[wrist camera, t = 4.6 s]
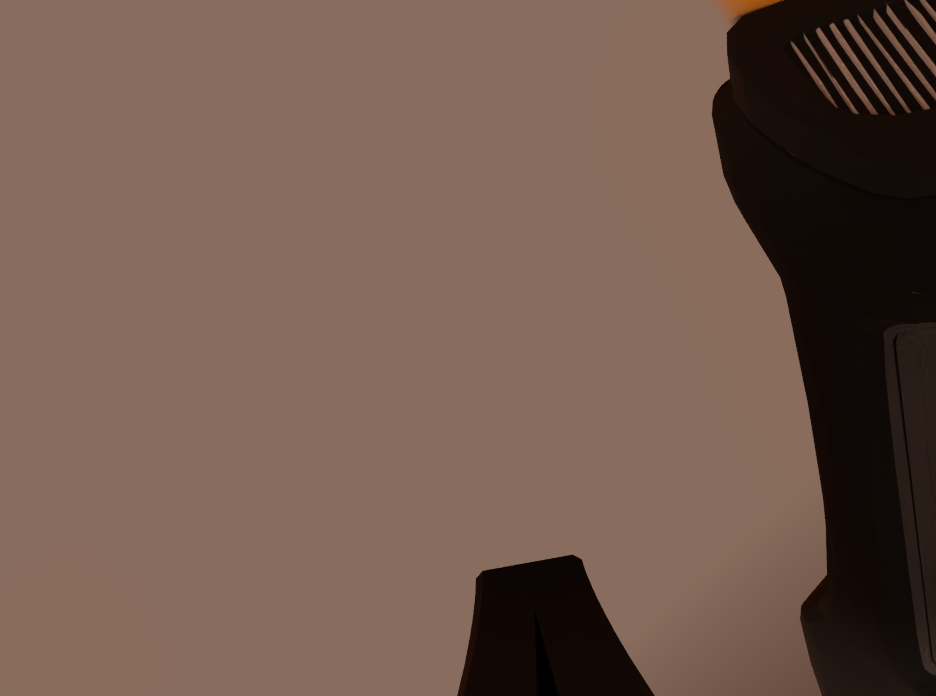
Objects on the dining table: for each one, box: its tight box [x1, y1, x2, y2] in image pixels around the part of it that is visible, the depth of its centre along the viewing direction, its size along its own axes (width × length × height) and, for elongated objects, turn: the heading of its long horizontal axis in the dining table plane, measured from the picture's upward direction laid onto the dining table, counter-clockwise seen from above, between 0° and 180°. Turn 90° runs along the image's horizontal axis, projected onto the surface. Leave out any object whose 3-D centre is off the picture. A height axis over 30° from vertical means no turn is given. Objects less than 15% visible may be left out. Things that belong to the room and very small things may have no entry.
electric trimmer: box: [712, 0, 936, 696], centre depth 12 cm, size 4×16×3 cm, turn 17°
